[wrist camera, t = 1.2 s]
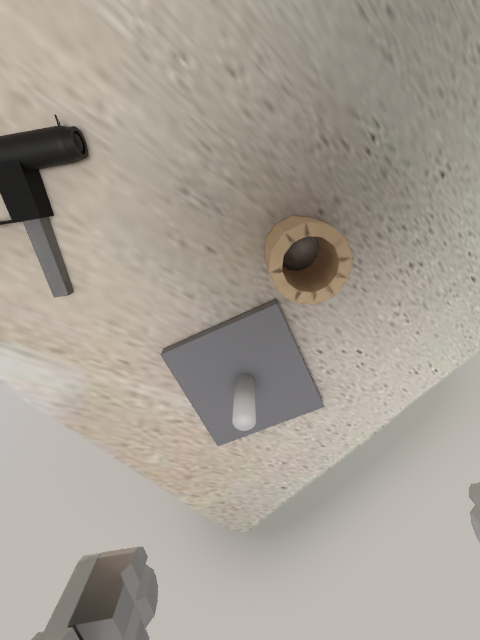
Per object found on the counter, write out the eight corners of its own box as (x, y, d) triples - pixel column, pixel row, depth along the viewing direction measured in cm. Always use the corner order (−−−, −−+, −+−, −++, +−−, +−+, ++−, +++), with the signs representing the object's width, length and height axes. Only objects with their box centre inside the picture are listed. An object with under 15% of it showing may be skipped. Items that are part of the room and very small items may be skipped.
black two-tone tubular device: (119, 290, 33) (61, 105, 27) (-62, 315, 35) (-160, 146, 28) (130, 280, 36) (79, 111, 30) (-37, 303, 38) (-120, 148, 31)
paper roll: (314, 204, 32) (335, 207, 24) (337, 264, 34) (362, 283, 26) (254, 233, 33) (256, 245, 25) (279, 289, 35) (288, 315, 27)
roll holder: (275, 299, 35) (284, 329, 27) (321, 399, 40) (340, 450, 32) (163, 348, 38) (141, 390, 30) (218, 437, 42) (212, 494, 34)
